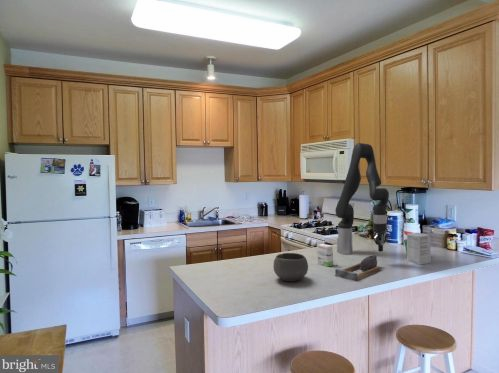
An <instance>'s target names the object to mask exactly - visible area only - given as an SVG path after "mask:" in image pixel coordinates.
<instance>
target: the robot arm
mask: <svg viewBox="0 0 499 373" xmlns="http://www.w3.org/2000/svg"><path fill="white" fill-rule="evenodd" d="M361 159H365V161H366V164H367V166H366V170H365V177H366V180H367V182H368V188H369V189H368V190H369V191H368V192H369V198H370V199H371V200H372V201H376V202H377V201H379V202H378V203H377V204H374V205H373V206H372V212H373V214H372V216H373V217H372V226H373V227H372V228H373V231H375V236H373V238H372V239H373V242H374V243H375V245H377V247H378V248H377V250H378V252H380V253H382V252H383V251H384V245H385V243H386V241H387V238H388V234H386V231H387V230H388V220H387V205H388V201H389V197H390V193H389V190H388V189H387V188H385V187H381V188H379V186H381V185H382V181H381V180H382V179H381V178H380V175H379V172H378V169H377V165H376V164H377V163H376V156H375V153H374V148H373V145H371V144H369V143H363V142H357V143H356V144H355V145H354V146H353V149H352V153H351V156H350V163H349V166H348V167H349V168H348V171H347V174H346V177H345V180H344V184H343V188H342V191H341V194H340V197H339V200H338V202H337V204H336V207H335V211H334V212H335V216H336V217H337V218H338V219H341V220H340V221H339V222H338V223H337V233H338V234H337V235H338V237H337V238H336V249H337V250H336V252H337V253H339V254H340V255H351V254H353V224H354V220H355V219H354V216H355V212H354V211H355V210H354V207H353V205H351V203H350V201H351V199H352V197H354V195H355V194H356V193H357V191H358V190H359V187H360V183H361V180H362V175H361V172H360V167H359V166H360V165H359V164H360V160H361ZM377 187H378V188H377Z"/></svg>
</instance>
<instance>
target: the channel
mask: <svg viewBox="0 0 499 373" xmlns="http://www.w3.org/2000/svg"><path fill="white" fill-rule="evenodd" d="M360 263H361V262H359V263H356V264H355V265H351V266H348V267H346V268H343V269H342V268H341V269H340V268H335V272H334V274H335V277H338V278H341V279H342V278H343V279H347V280H350V281H354V282H356V281H358V280H361V279H363V278H366V277H369V276H370V275H373V274H376V273H377V272H379V271H381V266H376V267H374V268H372V269H370V270H364V271H363V272H360V273H357V272H354V271H355V270H359V269H361V268H360Z"/></svg>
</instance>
